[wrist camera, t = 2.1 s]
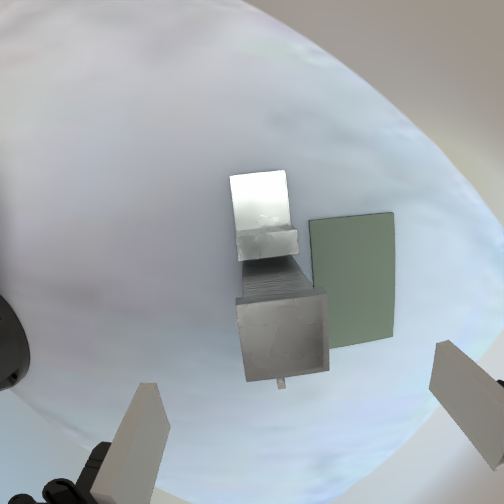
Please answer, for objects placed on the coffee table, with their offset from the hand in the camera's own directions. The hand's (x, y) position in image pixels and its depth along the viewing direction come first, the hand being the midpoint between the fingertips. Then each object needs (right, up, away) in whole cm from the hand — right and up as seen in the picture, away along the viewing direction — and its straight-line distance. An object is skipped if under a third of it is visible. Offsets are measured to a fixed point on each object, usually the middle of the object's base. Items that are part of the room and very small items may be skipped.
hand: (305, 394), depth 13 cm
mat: (+8, +3, +19) cm, 21 cm away
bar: (-1, +4, +19) cm, 19 cm away
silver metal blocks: (-1, +4, +19) cm, 19 cm away
